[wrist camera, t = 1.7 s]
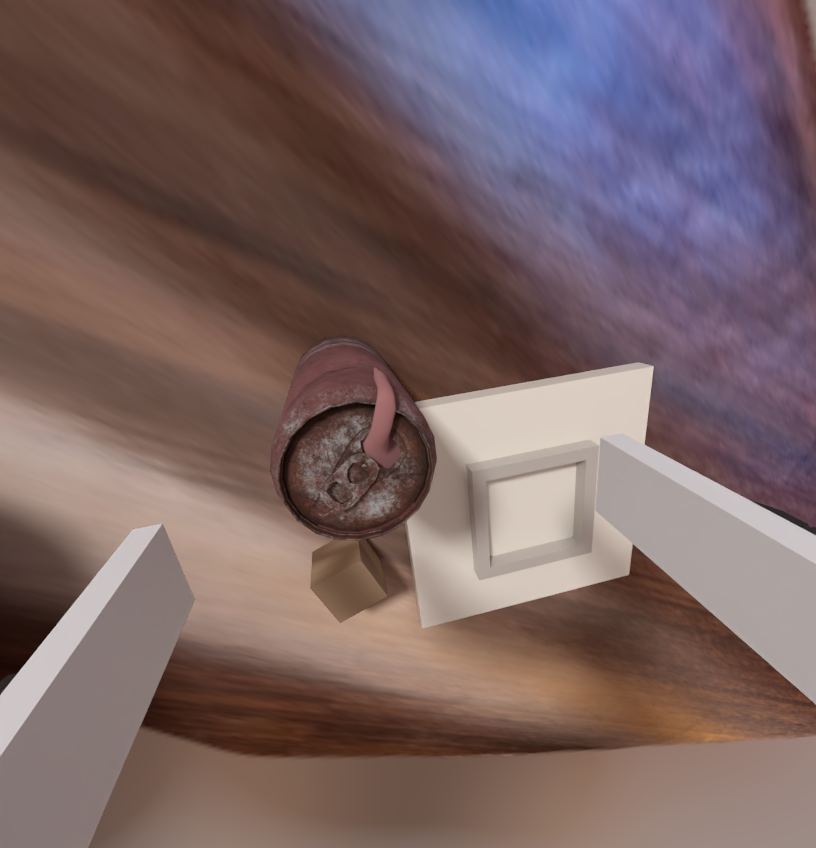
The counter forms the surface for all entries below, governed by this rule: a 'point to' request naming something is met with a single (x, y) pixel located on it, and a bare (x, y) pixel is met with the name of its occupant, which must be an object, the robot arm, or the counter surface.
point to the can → (351, 444)
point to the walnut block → (347, 577)
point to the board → (521, 492)
